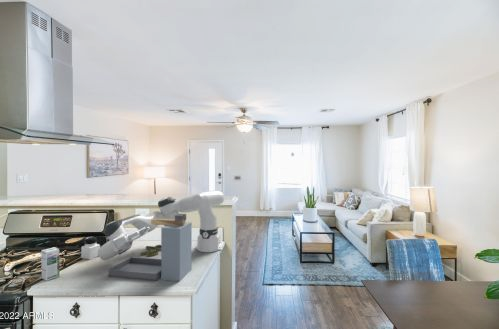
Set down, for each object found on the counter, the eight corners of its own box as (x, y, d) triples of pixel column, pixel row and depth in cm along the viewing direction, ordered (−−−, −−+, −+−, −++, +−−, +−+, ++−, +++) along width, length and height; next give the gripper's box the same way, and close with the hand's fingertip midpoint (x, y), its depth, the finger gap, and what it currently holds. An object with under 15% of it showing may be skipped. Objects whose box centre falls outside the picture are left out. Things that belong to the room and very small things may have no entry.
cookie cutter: (146, 247, 176) (146, 245, 176) (164, 247, 177) (164, 244, 177) (138, 257, 158) (138, 254, 158) (159, 257, 160) (159, 253, 160)
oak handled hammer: (155, 222, 139) (155, 212, 139) (186, 224, 136) (186, 213, 136) (150, 224, 134) (150, 214, 134) (182, 226, 131) (182, 215, 131)
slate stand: (174, 268, 142) (174, 221, 142) (191, 269, 141) (191, 222, 140) (161, 279, 129) (161, 227, 128) (179, 281, 127) (180, 228, 126)
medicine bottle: (100, 255, 160) (100, 236, 160) (89, 259, 153) (89, 239, 153) (91, 254, 162) (91, 235, 162) (81, 258, 156) (81, 238, 156)
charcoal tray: (130, 262, 150) (130, 256, 150) (173, 266, 145) (173, 260, 145) (108, 276, 132) (108, 269, 132) (156, 281, 127) (156, 273, 127)
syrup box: (46, 281, 126) (46, 251, 126) (41, 278, 129) (41, 249, 129) (59, 276, 131) (59, 248, 131) (54, 274, 134) (54, 246, 134)
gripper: (138, 241, 149) (156, 230, 147) (113, 253, 129) (134, 241, 127) (133, 231, 150) (151, 220, 148) (107, 242, 130) (128, 230, 128)
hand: (143, 230), depth 137 cm, fingers open, 8 cm apart
